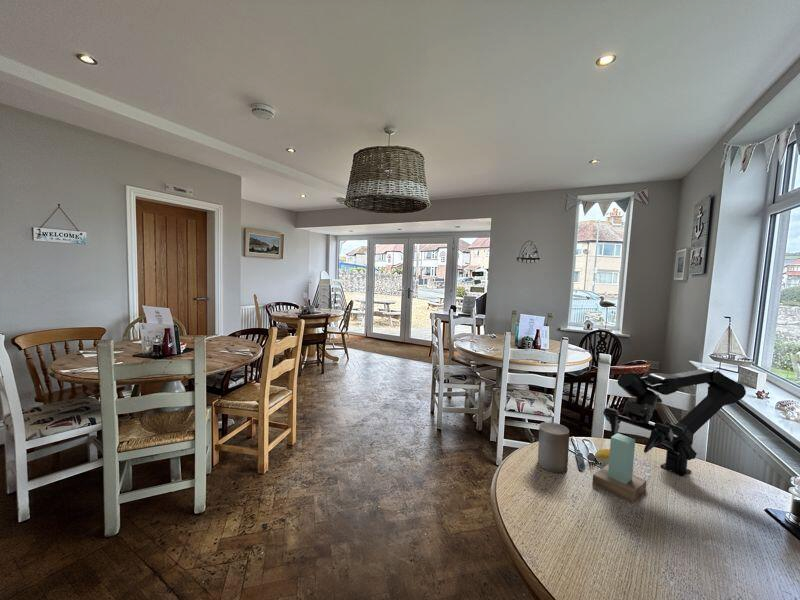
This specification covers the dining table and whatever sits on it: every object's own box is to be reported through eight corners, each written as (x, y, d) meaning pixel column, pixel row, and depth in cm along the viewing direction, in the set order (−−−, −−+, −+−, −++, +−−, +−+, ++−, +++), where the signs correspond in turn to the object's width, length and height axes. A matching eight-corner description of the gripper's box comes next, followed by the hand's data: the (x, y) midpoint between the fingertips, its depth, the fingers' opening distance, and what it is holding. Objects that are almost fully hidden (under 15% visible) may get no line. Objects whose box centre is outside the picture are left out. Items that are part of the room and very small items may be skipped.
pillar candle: (570, 465, 117) (573, 424, 116) (562, 477, 110) (565, 433, 109) (542, 455, 124) (544, 416, 123) (533, 466, 116) (535, 424, 115)
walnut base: (607, 472, 113) (608, 464, 113) (645, 489, 105) (646, 480, 104) (592, 483, 107) (593, 474, 107) (631, 502, 98) (632, 493, 98)
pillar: (614, 471, 109) (617, 433, 108) (632, 479, 105) (635, 439, 104) (607, 476, 106) (610, 437, 105) (625, 484, 102) (628, 443, 101)
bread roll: (623, 461, 121) (624, 450, 121) (618, 471, 115) (619, 460, 114) (597, 452, 127) (598, 442, 127) (591, 461, 120) (592, 451, 120)
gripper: (607, 384, 117) (590, 422, 111) (673, 401, 102) (658, 446, 96) (615, 401, 122) (599, 438, 116) (679, 420, 107) (665, 463, 101)
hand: (627, 446), depth 107 cm, fingers open, 9 cm apart
